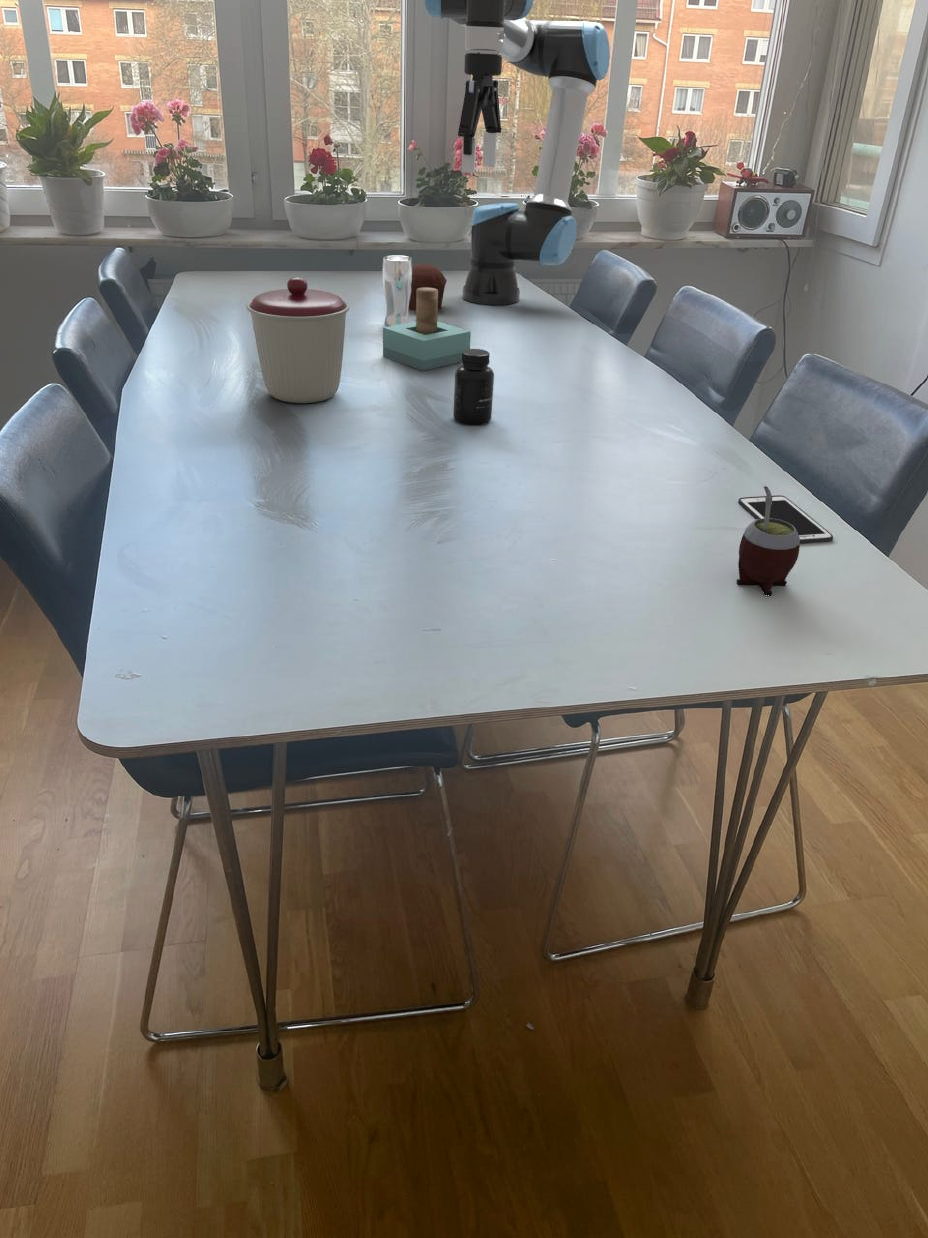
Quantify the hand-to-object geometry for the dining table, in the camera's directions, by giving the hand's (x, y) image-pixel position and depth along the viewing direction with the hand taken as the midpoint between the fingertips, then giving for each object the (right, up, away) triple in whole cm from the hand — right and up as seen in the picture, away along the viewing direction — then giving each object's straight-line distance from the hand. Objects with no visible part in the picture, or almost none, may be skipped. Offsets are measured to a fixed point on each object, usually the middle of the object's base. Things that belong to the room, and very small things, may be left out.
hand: (478, 169), depth 200 cm
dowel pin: (-11, -38, -1) cm, 40 cm away
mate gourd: (+34, -91, -81) cm, 126 cm away
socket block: (-11, -40, 0) cm, 41 cm away
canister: (-33, -53, -24) cm, 67 cm away
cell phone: (+43, -81, -64) cm, 112 cm away
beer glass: (-19, -26, +24) cm, 40 cm away
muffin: (-13, -16, +40) cm, 45 cm away
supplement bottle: (-2, -60, -32) cm, 68 cm away
